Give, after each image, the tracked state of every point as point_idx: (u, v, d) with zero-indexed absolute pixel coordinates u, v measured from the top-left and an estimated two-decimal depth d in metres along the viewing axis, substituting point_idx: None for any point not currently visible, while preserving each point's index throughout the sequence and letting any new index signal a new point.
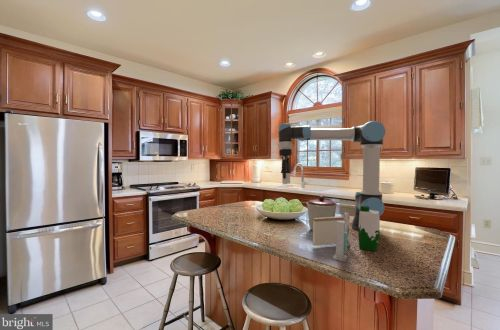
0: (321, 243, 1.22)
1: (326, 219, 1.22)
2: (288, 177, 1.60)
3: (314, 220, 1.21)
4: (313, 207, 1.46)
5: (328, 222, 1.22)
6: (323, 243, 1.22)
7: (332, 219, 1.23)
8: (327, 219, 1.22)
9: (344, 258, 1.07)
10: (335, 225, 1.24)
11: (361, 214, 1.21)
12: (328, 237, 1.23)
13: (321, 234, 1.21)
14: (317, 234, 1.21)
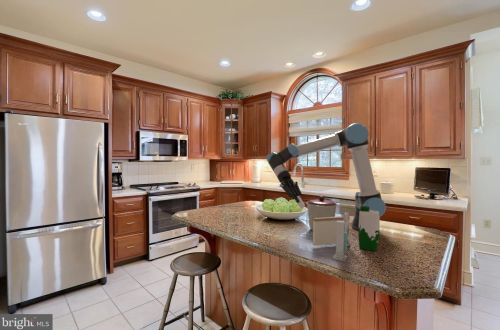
0: (321, 243, 1.22)
1: (326, 219, 1.22)
2: None
3: (314, 220, 1.21)
4: (313, 207, 1.46)
5: (328, 222, 1.22)
6: (323, 243, 1.22)
7: (332, 219, 1.23)
8: (327, 219, 1.22)
9: (344, 258, 1.07)
10: (335, 225, 1.24)
11: (361, 214, 1.21)
12: (328, 237, 1.23)
13: (321, 234, 1.21)
14: (317, 234, 1.21)
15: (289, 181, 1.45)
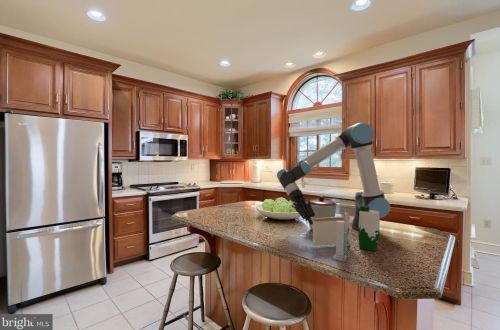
0: (321, 243, 1.22)
1: (326, 219, 1.22)
2: None
3: (314, 220, 1.21)
4: (313, 207, 1.46)
5: (328, 222, 1.22)
6: (323, 243, 1.22)
7: (332, 219, 1.23)
8: (327, 219, 1.22)
9: (344, 258, 1.07)
10: (335, 225, 1.24)
11: (361, 214, 1.21)
12: (328, 237, 1.23)
13: (321, 234, 1.21)
14: (317, 234, 1.21)
15: (301, 201, 1.37)
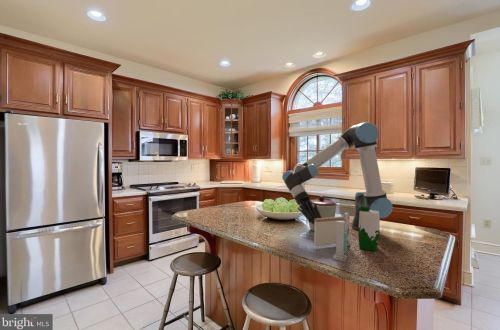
0: (322, 244, 1.21)
1: (327, 219, 1.21)
2: None
3: (315, 221, 1.20)
4: None
5: (329, 222, 1.22)
6: (324, 244, 1.21)
7: (333, 219, 1.22)
8: (328, 219, 1.21)
9: (344, 258, 1.07)
10: (336, 225, 1.23)
11: (361, 214, 1.21)
12: (329, 237, 1.22)
13: (322, 235, 1.21)
14: (318, 235, 1.20)
15: (308, 203, 1.33)
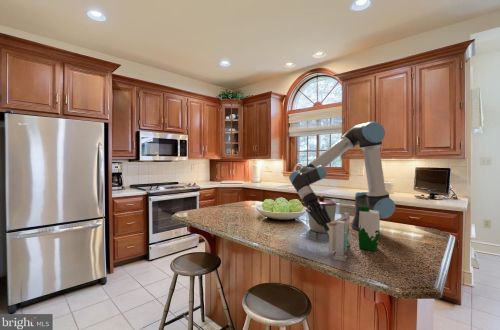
0: (335, 248, 1.15)
1: None
2: None
3: (331, 225, 1.12)
4: None
5: None
6: None
7: None
8: None
9: (344, 258, 1.07)
10: None
11: (361, 214, 1.21)
12: None
13: (335, 239, 1.15)
14: (333, 239, 1.13)
15: None
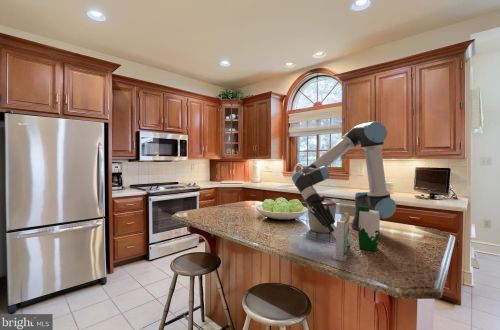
0: None
1: (345, 223, 1.15)
2: None
3: None
4: None
5: None
6: None
7: (346, 222, 1.18)
8: (345, 223, 1.15)
9: (344, 258, 1.07)
10: (346, 227, 1.20)
11: (361, 214, 1.21)
12: None
13: None
14: None
15: None
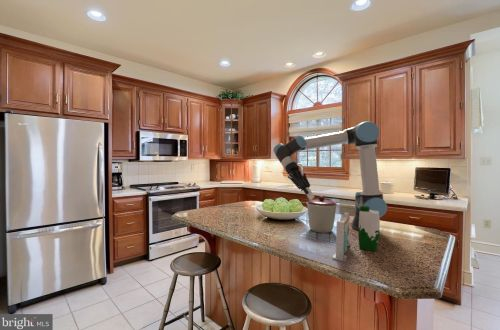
0: None
1: (345, 223, 1.15)
2: None
3: None
4: (313, 207, 1.46)
5: (345, 226, 1.16)
6: None
7: (346, 222, 1.18)
8: (345, 223, 1.15)
9: (344, 258, 1.07)
10: (346, 227, 1.20)
11: (361, 214, 1.21)
12: None
13: None
14: None
15: (297, 173, 1.42)
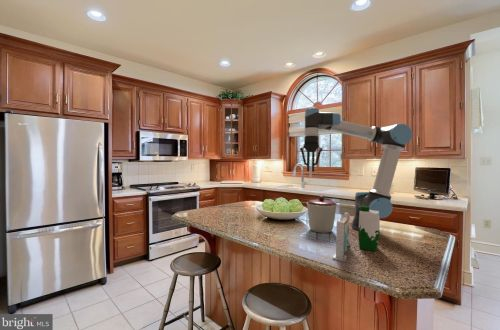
0: None
1: (345, 223, 1.15)
2: None
3: None
4: (313, 207, 1.46)
5: (345, 226, 1.16)
6: None
7: (346, 222, 1.18)
8: (345, 223, 1.15)
9: (344, 258, 1.07)
10: (346, 227, 1.20)
11: (361, 214, 1.21)
12: None
13: None
14: None
15: (311, 147, 1.42)
